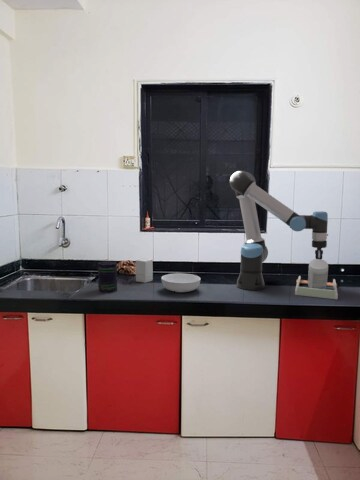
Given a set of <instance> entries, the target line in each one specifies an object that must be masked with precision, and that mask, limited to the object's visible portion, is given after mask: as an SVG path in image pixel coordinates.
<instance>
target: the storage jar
mask: <svg viewBox="0 0 360 480" xmlns="http://www.w3.org/2000/svg"><path fill="white" fill-rule="evenodd" d="M97 274H98V281H97V286H98V293H102V294H112V293H115V292H116V293H117V291H118V279H117V277H118V275H117V274H118V262H117V261H115V260H103V261H98V262H97Z"/></svg>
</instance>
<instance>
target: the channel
mask: <svg viewBox="0 0 360 480" xmlns="http://www.w3.org/2000/svg"><path fill="white" fill-rule="evenodd" d="M301 278H302V277H301V275H299V276H298V277H297V280H298V281H297V280H296V281H297V283H296V286H295V289H294V296H302V297H312V298H319V299H322V298H323V299H331V300H338V296H339V294H338V288H337V287H338V286H337V287H336V279H335V278H332V283H333V286H332V287H333V289H329V288H328V289H326V288H325V289H318V288H310V287H309V286H308V287H306V286H305V287H304V286H300V284H301V283H300V280H301Z"/></svg>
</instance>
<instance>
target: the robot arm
mask: <svg viewBox="0 0 360 480" xmlns="http://www.w3.org/2000/svg"><path fill="white" fill-rule="evenodd" d="M256 182H257V181H256V178H255V176H254V175H253V174H252V173H250V172H248V171H244V170H237V171H235V172H234V173H232V175H230V179H229V185H230V188H231V189H232V190H233V191H234V194H235V197H236V198H237V199H238V200H239V206H240V211H241V218H242V221H243V222H242V223H243V228H244V234H245V238H246V239H245V241H244V244H242V246H241V248H240V272H239V275H238V277H237V280H236V287H238V288H239V289H240V290H241V289H242V290H249V291H258V290H263V289H264V288H265V281H264V277H263V273H262V272H263V263H264V262H265V261H266V260H267V258H268V255H269V250H268V247H267V246H266V241H265V238H263V237H262V234H261V230H260V229H261V228H260V222H259V217H258V210H257V206H256V204H257V205H259V206H260V207H262V208H263V209H265V210H266V211H267V212H269V213H270V214H271V215H273V216H274V217H276V218H277V219H279V220H280V221H282V222H283V223H284V224H286V225H287V226H288V227H289V228H290V229H291V230H292V231H294V232H302V231H304V229H305V230H311V239H312V240H311V247H312V248H313V249H314V248H316V249H315V250H314V254H315V259H321V260H323V255H324V251H323V249H325V248H327V247H328V246H327V245H328V240H327V239H328V236H329V233H328V225H329V224H328V221H329V219H328V215H329V214H328V212H327V211H320V210H319V211H313V212H312V214H310V215H307V214H305V215H303V214H298V213H297V212H296V211H294V210H292V209H291V208H289V207H288V206H287V205H285V203H282V202H281V201H279V199H276V198H275V197H274V196H272V195H271V194H270V193H269V192H267V191H265V190H264V189H262V188H261V187H260V186H258V185H257V184H256Z"/></svg>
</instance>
